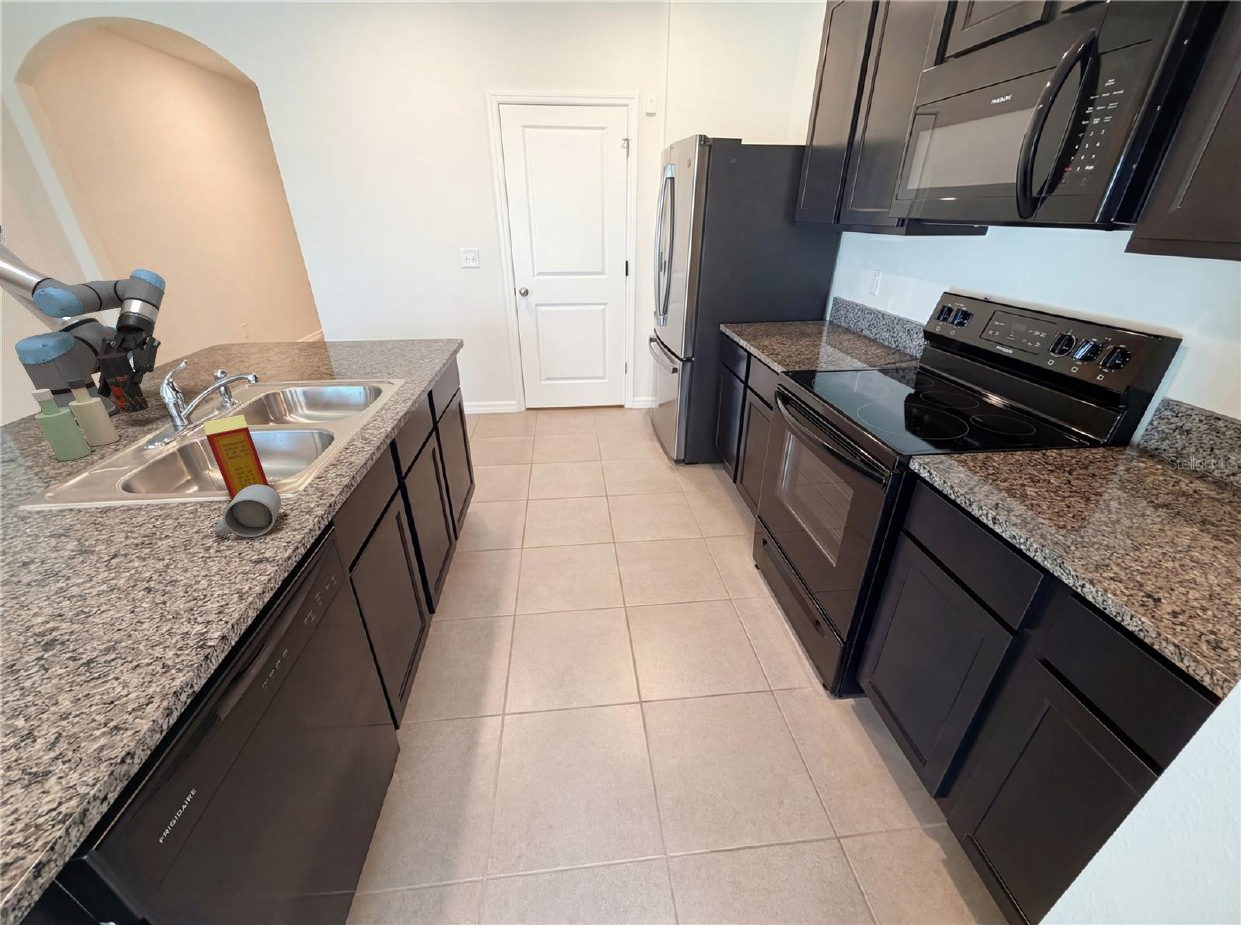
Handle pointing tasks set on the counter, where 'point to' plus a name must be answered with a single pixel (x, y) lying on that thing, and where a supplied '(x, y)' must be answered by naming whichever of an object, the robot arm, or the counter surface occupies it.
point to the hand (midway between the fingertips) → (116, 394)
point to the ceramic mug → (250, 512)
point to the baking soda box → (235, 453)
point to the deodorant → (121, 382)
